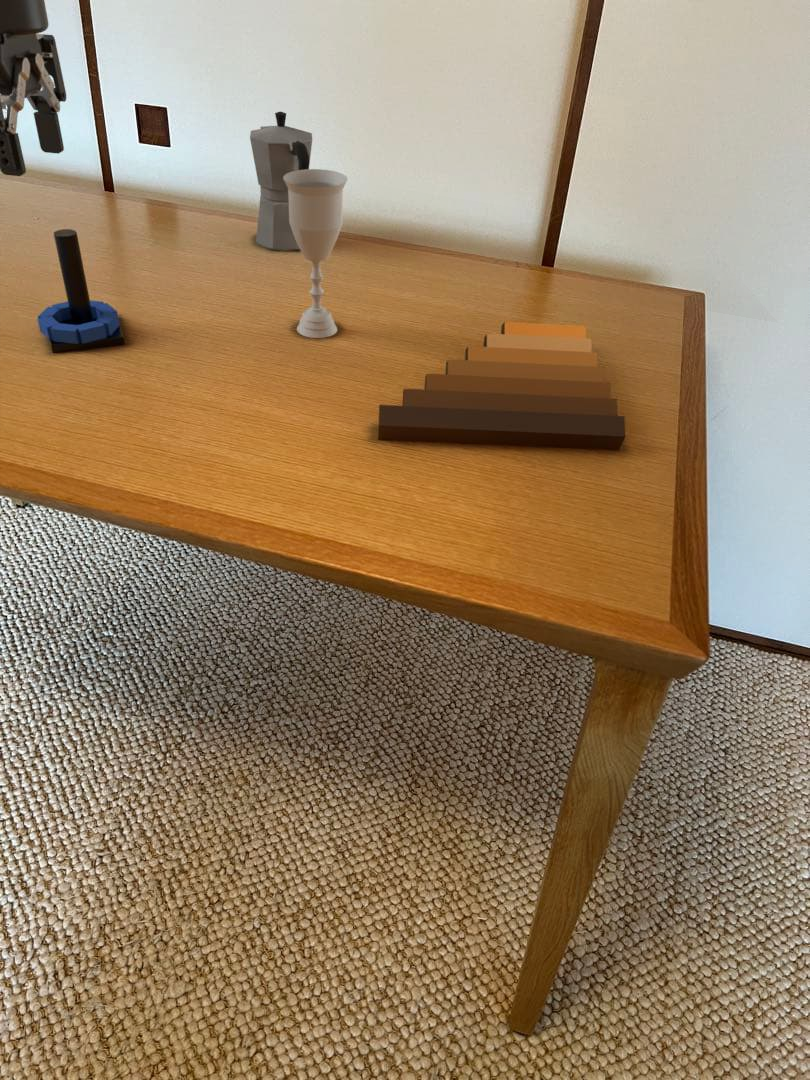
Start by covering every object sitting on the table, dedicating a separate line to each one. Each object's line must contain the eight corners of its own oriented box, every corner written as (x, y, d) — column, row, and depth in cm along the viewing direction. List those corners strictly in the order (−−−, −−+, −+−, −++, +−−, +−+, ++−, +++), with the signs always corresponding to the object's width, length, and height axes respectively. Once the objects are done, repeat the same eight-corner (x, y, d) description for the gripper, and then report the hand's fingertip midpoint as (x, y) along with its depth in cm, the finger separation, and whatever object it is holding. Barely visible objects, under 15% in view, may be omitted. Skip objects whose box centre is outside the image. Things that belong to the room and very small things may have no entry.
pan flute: (378, 443, 82) (620, 453, 84) (379, 413, 80) (628, 425, 81) (380, 335, 102) (577, 345, 103) (381, 309, 100) (582, 319, 101)
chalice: (325, 312, 106) (324, 166, 94) (356, 332, 102) (360, 181, 90) (277, 325, 102) (270, 174, 91) (308, 346, 98) (305, 191, 87)
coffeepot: (240, 230, 128) (232, 102, 116) (296, 223, 132) (293, 100, 120) (277, 264, 118) (272, 129, 106) (336, 256, 121) (337, 125, 110)
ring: (101, 346, 93) (98, 333, 92) (29, 339, 93) (26, 326, 92) (127, 316, 99) (125, 303, 98) (60, 309, 100) (57, 297, 99)
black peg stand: (52, 353, 93) (28, 248, 85) (47, 324, 99) (23, 223, 91) (125, 344, 96) (107, 242, 88) (115, 316, 101) (98, 218, 94)
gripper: (-9, -42, 77) (30, 142, 88) (-96, -31, 66) (-40, 179, 76) (68, -36, 77) (98, 149, 87) (-6, -23, 66) (38, 186, 76)
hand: (34, 163), depth 82 cm, fingers open, 8 cm apart
